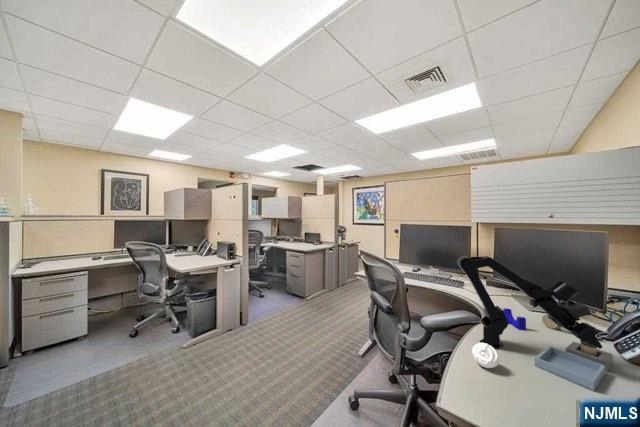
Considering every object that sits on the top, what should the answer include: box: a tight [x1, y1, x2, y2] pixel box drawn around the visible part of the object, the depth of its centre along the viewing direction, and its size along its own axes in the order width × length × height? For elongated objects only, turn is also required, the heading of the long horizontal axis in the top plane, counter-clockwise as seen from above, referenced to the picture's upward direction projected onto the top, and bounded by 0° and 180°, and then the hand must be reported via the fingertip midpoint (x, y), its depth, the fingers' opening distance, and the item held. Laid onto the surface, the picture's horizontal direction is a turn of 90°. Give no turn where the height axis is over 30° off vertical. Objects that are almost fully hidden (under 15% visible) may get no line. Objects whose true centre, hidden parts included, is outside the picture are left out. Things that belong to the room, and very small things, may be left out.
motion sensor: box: [471, 342, 500, 369], centre depth 82 cm, size 8×8×8 cm
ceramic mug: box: [541, 312, 573, 335], centre depth 111 cm, size 11×8×8 cm
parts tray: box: [534, 345, 607, 392], centre depth 80 cm, size 16×14×3 cm
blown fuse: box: [579, 325, 598, 357], centre depth 86 cm, size 4×4×13 cm
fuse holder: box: [565, 341, 614, 373], centre depth 86 cm, size 10×10×4 cm
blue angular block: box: [502, 307, 527, 331], centre depth 115 cm, size 12×4×6 cm, turn 170°
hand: (591, 341), depth 86 cm, fingers open, 9 cm apart
